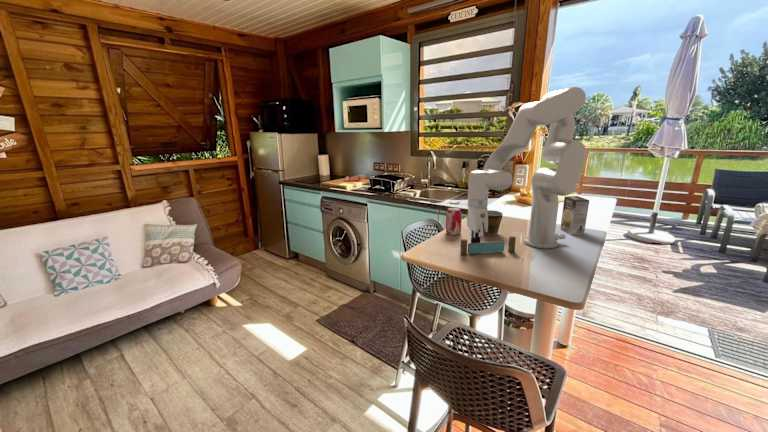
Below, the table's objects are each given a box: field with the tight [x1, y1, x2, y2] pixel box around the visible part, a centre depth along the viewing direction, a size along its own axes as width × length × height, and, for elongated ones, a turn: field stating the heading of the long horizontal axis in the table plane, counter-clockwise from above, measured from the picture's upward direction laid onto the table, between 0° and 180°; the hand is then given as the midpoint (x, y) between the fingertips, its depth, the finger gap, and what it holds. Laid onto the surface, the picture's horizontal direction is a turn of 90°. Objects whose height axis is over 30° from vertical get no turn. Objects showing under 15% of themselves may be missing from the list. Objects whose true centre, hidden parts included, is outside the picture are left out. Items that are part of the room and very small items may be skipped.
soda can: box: [445, 206, 462, 236], centre depth 142 cm, size 7×7×12 cm
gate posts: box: [459, 235, 517, 257], centre depth 118 cm, size 22×2×6 cm, turn 96°
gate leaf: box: [467, 240, 505, 255], centre depth 118 cm, size 14×2×4 cm, turn 96°
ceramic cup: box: [483, 209, 504, 237], centre depth 141 cm, size 13×10×10 cm
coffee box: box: [559, 195, 590, 236], centre depth 139 cm, size 9×6×16 cm
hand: (475, 246), depth 123 cm, fingers closed
